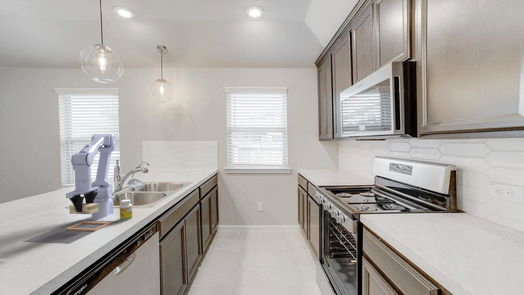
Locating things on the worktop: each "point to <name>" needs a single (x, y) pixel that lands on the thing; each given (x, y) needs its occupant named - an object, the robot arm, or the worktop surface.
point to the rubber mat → (66, 233)
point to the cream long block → (85, 208)
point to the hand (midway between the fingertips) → (84, 210)
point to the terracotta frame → (88, 228)
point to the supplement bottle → (126, 210)
